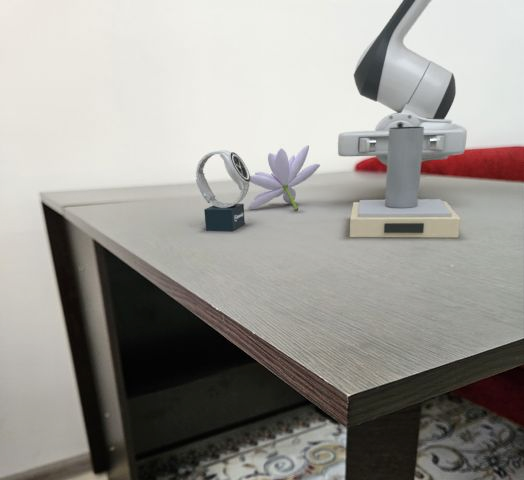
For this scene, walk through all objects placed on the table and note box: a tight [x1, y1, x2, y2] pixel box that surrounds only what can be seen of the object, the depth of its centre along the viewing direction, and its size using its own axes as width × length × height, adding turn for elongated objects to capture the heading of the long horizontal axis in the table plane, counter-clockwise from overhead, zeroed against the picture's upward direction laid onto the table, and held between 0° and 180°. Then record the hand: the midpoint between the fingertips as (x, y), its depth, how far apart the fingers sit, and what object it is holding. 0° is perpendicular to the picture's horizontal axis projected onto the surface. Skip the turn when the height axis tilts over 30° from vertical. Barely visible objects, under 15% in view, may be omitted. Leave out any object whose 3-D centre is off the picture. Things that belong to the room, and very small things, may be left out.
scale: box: [349, 198, 461, 239], centre depth 75 cm, size 14×14×3 cm
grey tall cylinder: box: [384, 127, 424, 208], centre depth 72 cm, size 4×4×10 cm
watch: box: [195, 150, 251, 232], centre depth 78 cm, size 6×8×11 cm
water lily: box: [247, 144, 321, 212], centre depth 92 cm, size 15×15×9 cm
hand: (402, 145), depth 79 cm, fingers open, 8 cm apart
